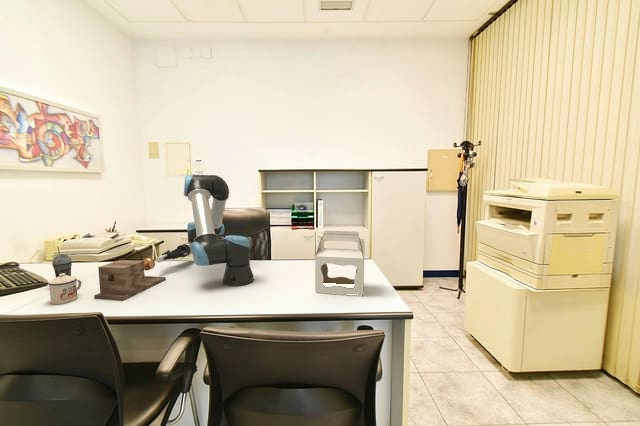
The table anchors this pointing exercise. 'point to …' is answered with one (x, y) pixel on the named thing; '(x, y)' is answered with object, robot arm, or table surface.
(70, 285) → the teacup with lid
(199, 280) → the table surface
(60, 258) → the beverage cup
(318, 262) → the gable box
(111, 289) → the block
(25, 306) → the table surface
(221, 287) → the table surface
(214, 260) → the robot arm
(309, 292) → the table surface
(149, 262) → the plunger
